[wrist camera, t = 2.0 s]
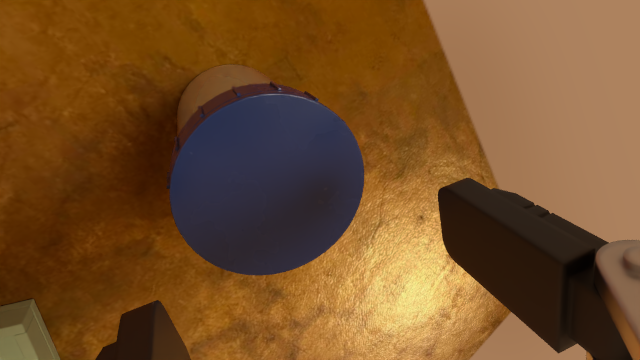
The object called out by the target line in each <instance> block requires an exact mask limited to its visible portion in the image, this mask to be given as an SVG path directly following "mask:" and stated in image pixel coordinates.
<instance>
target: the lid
mask: <svg viewBox="0 0 640 360" xmlns="http://www.w3.org/2000/svg"><path fill="white" fill-rule="evenodd" d="M197 108H198V110H197V111H196V112H195V113H194V114H193V115H192V116H191V117H190V119H189V120H188V121H187V122H186V124H185V125H184V127H183V128H182V130H181V131H180V133H179V136H178V137H177V136H175V138H174V140H175V145H174V148H173V151H172V155H171V161H170V172H167V189H170V205H171V211H172V215H173V218H174V221H175V224H176V226H177V228H178V230H179V232H180V234H181V235H182V237H183V238H184V239H185V241H186V242H187V244H188V245H189V246H190V247H191V248H192V249H193V250H194V251H195V252H196V253H197V254H199V255H200V256H201V257H202V258H204V259H205V260H206V261H208V262H210V263H212V264H213V265H215V266H217V267H220V268H222V269H225V270H227V271H231V272H235V273H239V274H246V275H270V274H277V273H282V272H286V271H289V270H292V269H295V268H298V267H300V266H302V265H305V264H307V263H308V262H310V261H312V260H314V259H316V258H317V257H318V256H320V255H321V254H323V253H324V252H326V251H327V250H328V249H329V248H330V247H331V246H332V245H334V244H335V242H336V241H337V240H338V239H339V238H340V237H341V236H342V235H343V233H344V232H345V231H346V229H347V228H348V226H349V225H350V223H351V221H352V220H353V218H354V216H355V214H356V211H357V209H358V207H359V204H360V200H361V197H362V192H363V186H364V166H363V160H362V155H361V151H360V149H359V146H358V143H357V141H356V139H355V137H354V135H353V134H352V132H351V130H350V129H349V128H348V126H347V125H346V124H345V122H344V121H343V120H342V119H341V118H340V117H339V116H338V115H337V114H335V113H334V112H333V111H331V110H330V109H329V108H327V107H326V106H324V105H323V104H321V103H320V102H318V99H317V98H316V97H314V96H313V95H311V94H309V93H308V92H306V91H305V92H304V93H303V92H301V91H299V90H296V89H293V88H291V87H287V86H283V85H278V84H275V83H274V82H271V81H270V84H267V83H261V84H250V85H244V86H239V87H235V86H232V89H230V90H227V91H225V92H223V93H221V94H219V95H217V96H215V97H214V98H212V99H211V100H209V101H208V102H206V103H205V104H204V105H203V106H200V105H199V106H198V107H197Z"/></svg>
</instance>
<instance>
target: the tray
mask: <svg viewBox="0 0 640 360" xmlns="http://www.w3.org/2000/svg"><path fill="white" fill-rule="evenodd" d="M0 360H60V357H59V355H58V353H57V351H56V348H55V346H54V344H53V342H52V339H51V337H50V335H49V333H48V330H47V328H46V326H45V324H44V321H43V319H42V317H41V315H40V312H39V310H38V308H37V306H36V303H35V301H34V299H30V300H26V301H22V302H17V303H13V304H9V305H4V306H0Z"/></svg>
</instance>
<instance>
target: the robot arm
mask: <svg viewBox="0 0 640 360" xmlns="http://www.w3.org/2000/svg"><path fill="white" fill-rule="evenodd" d="M438 202H439V211H440V220H441V229H442V237H443V242H444V245H445V247H446V250H447V252H448V253H449V255H450V256H451V258H452V259H453V260H454V261H455V262H456V263H457V264H458V265H459V266H461V267H462V268H463V269H464V270H465V271H466V272H467V273H468V274H470V275H471V276H472V277H473V278H474V279H475V280H476V281H477V282H479V283H480V284H481V285H482V286H483V287H484V288H485V289H486V290H488V291H489V292H490V293H491V294H492V295H493V296H494V297H495V298H497V299H498V300H499V301H500V302H501V303H502V304H503V305H504V306H506V307H507V308H508V309H509V310H510V311H511V312H512V313H514V314H515V315H516V316H517V317H518V318H519V319H520V320H521V321H523V322H524V323H525V324H526V325H527V326H528V327H529V328H531V329H532V330H533V331H534V332H535V333H536V334H537V335H538V336H539V337H541V338H542V339H543V340H544V341H545V342H546V343H548V345H550V346H551V347H552V348H553V349H554V350H555V351H557V352H558V353H560V352H562V351H564V350H566V349H568V348H570V347H572V346H574V345H575V344H577V343H578V344H579V345H580V346H581V347H583V348H584V349H585V350H586V351H587V352H586V360H640V241H639V240H622V241H616V242H611V243H608V242H606V241H604V240H603V239H601V238H599V237H597V236H595V235H593V234H591V233H589V232H587V231H586V230H584V229H582V228H580V227H578V226H576V225H574V224H572V223H571V222H569V221H567V220H565V219H563V218H561V217H559V216H557V215H555V214H554V213H552V214H550V213H549V211H548V210H546V209H544V208H542V207H540V206H538V205H536V206H535V205H534V203H533V202H531V201H529V200H527V199H525V198H523V197H521V196H519V195H518V194H516V193H511V192H508V191H503V190H499V189H495V188H493V189H489V188H487V187H485V186H484V185H482V184H480V183H478V182H476V181H475V180H473V179H471V178H465V179H463V180H460V181H458V182H455V183H453V184H450V185H448V186H445V187H443V188H441V189H440V190H439V192H438ZM96 360H191V359H190V356H189V353H188V351H187V348H186V346H185V345H184V343H183V341H182V339H181V337H180V335H179V334H178V332H177V330H176V328H175V326H174V324H173V323H172V321H171V319H170V317H169V315H168V313H167V312H166V310H165V308H164V306H163V305H162V303H161V302H160V301H158V300H156V301H154V302H151V303H149V304H146V305H144V306H141V307H139V308H136V309H134V310H131V311H129V312H126V313H124V314H122V316H121V319H120V324H119V330H118V336H117V342H115V343H113V344H110V345H108V346H105V347H103V348H102V350H101V352H100V353H99V355H98V356H97V358H96Z"/></svg>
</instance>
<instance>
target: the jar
mask: <svg viewBox="0 0 640 360" xmlns="http://www.w3.org/2000/svg"><path fill="white" fill-rule="evenodd" d="M270 81H271V82H274V81H272V80H271V79H269V78H268V77H267V76H265V75H264V74H262V73H261V72H259V71H257V70H255V69H253V68H250V67H247V66H243V65H234V64H231V65H221V66H217V67H214V68H211V69H209V70H207V71H204V72H203V73H201V74H200V75H198V76H197V77H196V78H195V79H194V80H192V82H191V83H190V84H189V85H188V86H187V88H186V89H185V91H184V92H183V94H182V97H181V99H180V102H179V105H178V110H177V131H178V136H179V133H180V131H181V130H182V128H183V127H184V125H185V124H186V122H187V121H188V120H189V119H190V117H191V116H192V115H193V114H194V113H195V112H196V111H197V110H198V108H197V107H198V106H199V105H200V106H203V105H204V104H205V103H206V102H208V101H209V100H211V99H212V98H214V97H215V96H217V95H219V94H221V93H223V92H225V91H227V90H230V89H232V86H235V87H239V86H244V85H250V84H261V83H267V84H270ZM274 83H275V82H274ZM275 84H276V83H275Z"/></svg>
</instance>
